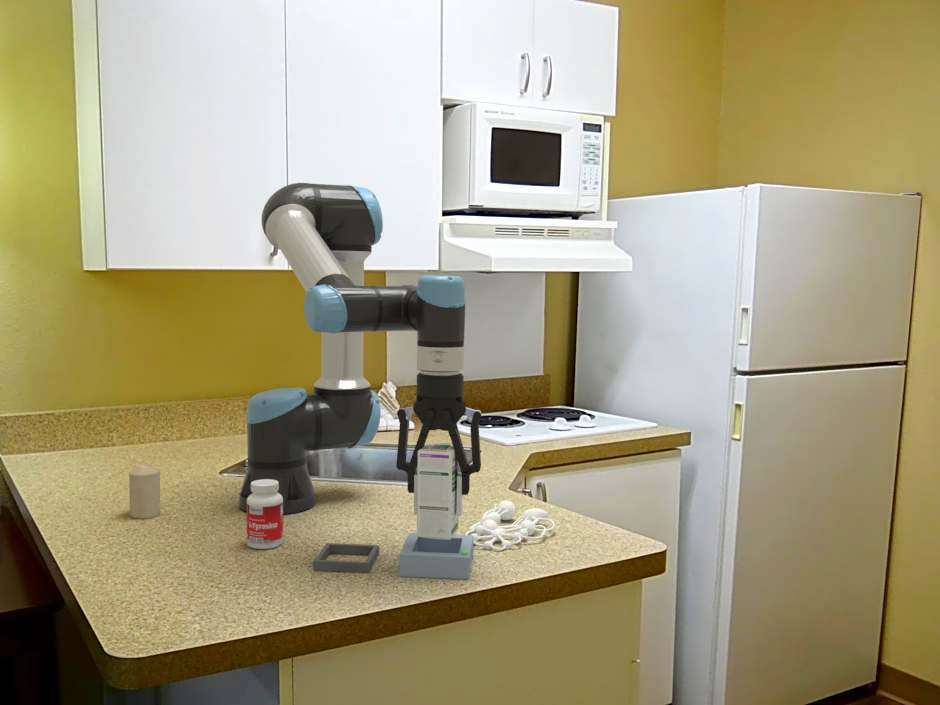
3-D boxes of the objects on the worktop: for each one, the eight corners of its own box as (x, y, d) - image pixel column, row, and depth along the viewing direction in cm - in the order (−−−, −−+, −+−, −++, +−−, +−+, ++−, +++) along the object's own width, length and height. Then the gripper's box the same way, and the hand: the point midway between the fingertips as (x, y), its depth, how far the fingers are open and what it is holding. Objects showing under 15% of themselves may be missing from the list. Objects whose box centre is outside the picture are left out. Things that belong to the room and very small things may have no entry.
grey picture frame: (313, 570, 134) (313, 561, 134) (326, 551, 143) (326, 543, 143) (368, 572, 134) (369, 563, 134) (378, 553, 143) (378, 545, 143)
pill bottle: (243, 550, 143) (243, 486, 142) (250, 538, 149) (249, 477, 148) (280, 549, 144) (280, 486, 143) (285, 538, 150) (285, 477, 149)
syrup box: (451, 540, 134) (453, 451, 132) (415, 537, 135) (417, 448, 133) (458, 529, 139) (461, 443, 138) (424, 526, 140) (426, 441, 139)
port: (399, 576, 133) (399, 551, 132) (408, 552, 144) (409, 530, 143) (468, 579, 132) (469, 554, 131) (473, 555, 143) (473, 532, 142)
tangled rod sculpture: (518, 566, 142) (520, 543, 142) (445, 544, 149) (447, 522, 149) (563, 532, 159) (566, 511, 158) (496, 514, 166) (498, 494, 165)
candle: (166, 512, 164) (165, 462, 163) (147, 520, 159) (146, 468, 158) (143, 509, 166) (142, 459, 165) (123, 517, 161) (122, 465, 160)
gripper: (376, 373, 131) (375, 517, 134) (499, 376, 130) (496, 522, 132) (384, 367, 139) (383, 504, 141) (500, 370, 138) (497, 508, 140)
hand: (438, 512), depth 137 cm, fingers closed on syrup box, 6 cm apart
